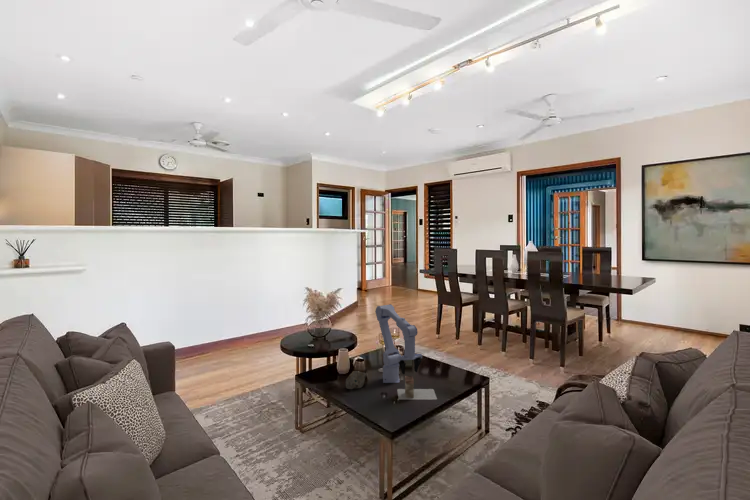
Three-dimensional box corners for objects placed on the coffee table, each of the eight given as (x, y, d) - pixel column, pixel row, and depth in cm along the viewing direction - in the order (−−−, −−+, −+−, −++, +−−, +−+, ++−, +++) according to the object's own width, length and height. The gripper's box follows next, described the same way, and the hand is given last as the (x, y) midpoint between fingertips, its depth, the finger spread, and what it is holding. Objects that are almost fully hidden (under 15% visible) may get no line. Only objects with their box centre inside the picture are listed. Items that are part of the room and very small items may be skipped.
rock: (348, 390, 195) (352, 371, 197) (343, 387, 201) (347, 368, 203) (367, 392, 201) (371, 373, 203) (361, 389, 206) (365, 371, 209)
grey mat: (398, 400, 186) (398, 399, 186) (397, 389, 198) (397, 389, 198) (437, 400, 186) (437, 399, 186) (433, 389, 198) (433, 389, 198)
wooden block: (405, 397, 188) (406, 380, 188) (405, 392, 194) (405, 376, 194) (413, 397, 188) (413, 380, 188) (412, 392, 194) (412, 376, 194)
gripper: (400, 352, 189) (400, 377, 190) (425, 348, 194) (424, 373, 195) (395, 348, 195) (395, 372, 196) (418, 344, 201) (418, 368, 201)
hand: (409, 372), depth 196 cm, fingers open, 7 cm apart
